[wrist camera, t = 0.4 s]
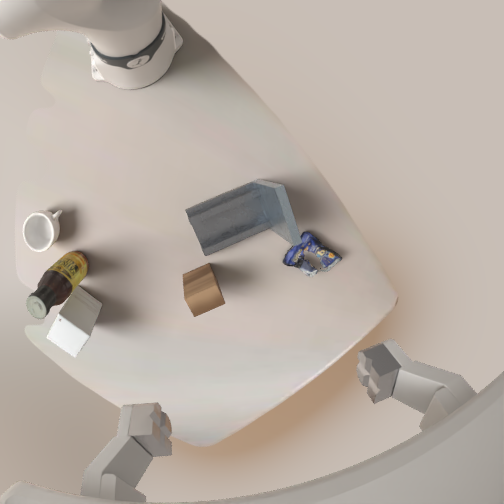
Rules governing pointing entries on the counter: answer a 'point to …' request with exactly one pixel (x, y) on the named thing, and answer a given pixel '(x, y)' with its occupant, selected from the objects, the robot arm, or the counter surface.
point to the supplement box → (75, 322)
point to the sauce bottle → (57, 283)
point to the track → (243, 216)
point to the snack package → (315, 246)
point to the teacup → (41, 230)
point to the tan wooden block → (202, 290)
